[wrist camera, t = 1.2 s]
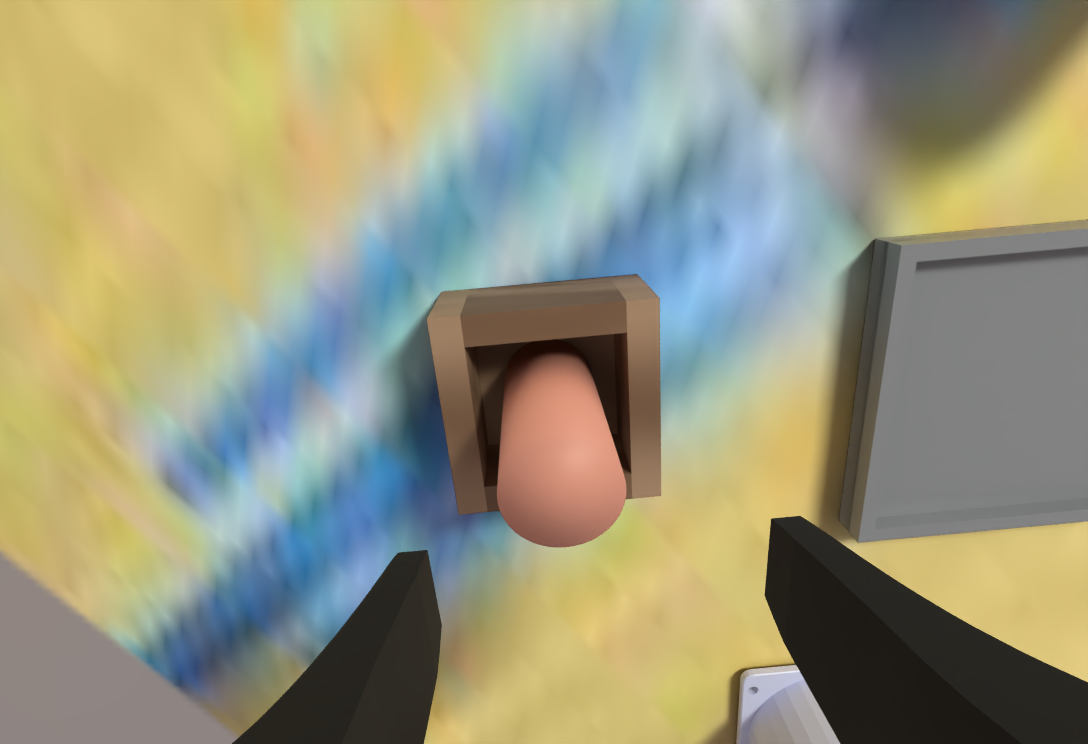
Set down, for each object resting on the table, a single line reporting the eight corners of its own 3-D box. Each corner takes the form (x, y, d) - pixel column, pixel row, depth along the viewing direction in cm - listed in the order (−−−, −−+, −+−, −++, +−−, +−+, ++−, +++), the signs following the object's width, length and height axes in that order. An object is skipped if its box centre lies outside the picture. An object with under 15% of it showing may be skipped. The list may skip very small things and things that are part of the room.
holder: (641, 446, 23) (661, 495, 20) (467, 462, 23) (458, 514, 20) (637, 274, 20) (659, 297, 17) (441, 291, 20) (426, 318, 17)
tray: (1114, 494, 25) (1149, 515, 23) (838, 520, 25) (858, 542, 23) (1209, 208, 20) (1260, 213, 19) (875, 238, 20) (901, 245, 19)
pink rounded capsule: (593, 414, 22) (628, 541, 15) (509, 422, 22) (504, 552, 15) (588, 334, 20) (624, 430, 13) (499, 342, 20) (489, 442, 13)
